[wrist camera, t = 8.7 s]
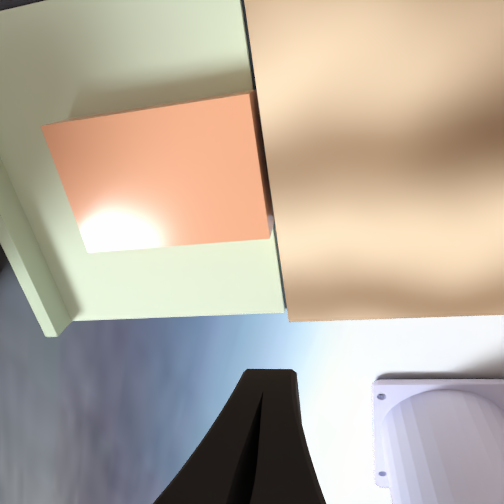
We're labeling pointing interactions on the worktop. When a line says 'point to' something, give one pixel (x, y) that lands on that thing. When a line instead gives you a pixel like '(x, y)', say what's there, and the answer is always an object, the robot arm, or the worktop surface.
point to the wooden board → (384, 154)
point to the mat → (103, 101)
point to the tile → (166, 173)
